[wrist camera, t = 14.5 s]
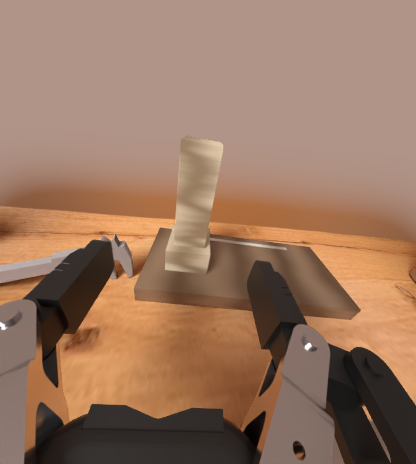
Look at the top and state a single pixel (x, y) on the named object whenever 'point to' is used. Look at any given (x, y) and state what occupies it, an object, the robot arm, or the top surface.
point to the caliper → (49, 263)
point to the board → (243, 277)
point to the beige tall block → (194, 205)
